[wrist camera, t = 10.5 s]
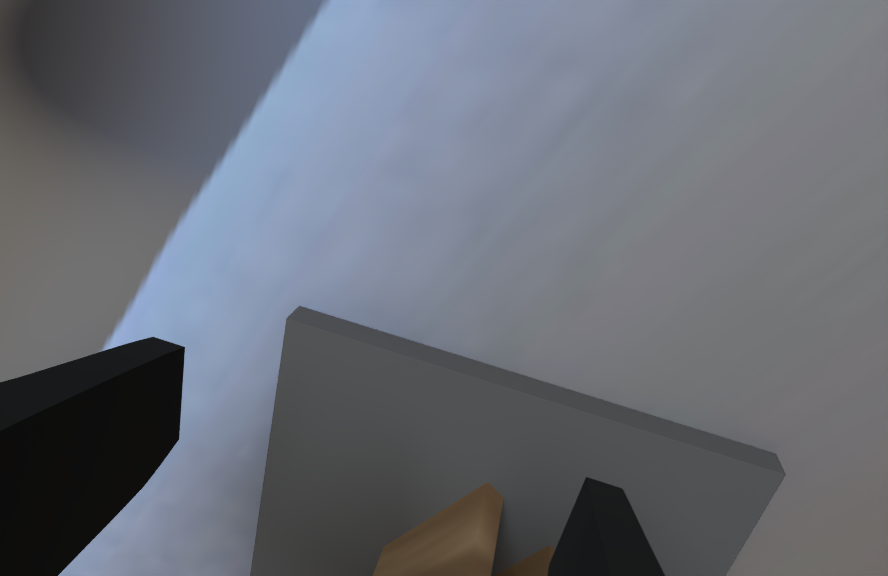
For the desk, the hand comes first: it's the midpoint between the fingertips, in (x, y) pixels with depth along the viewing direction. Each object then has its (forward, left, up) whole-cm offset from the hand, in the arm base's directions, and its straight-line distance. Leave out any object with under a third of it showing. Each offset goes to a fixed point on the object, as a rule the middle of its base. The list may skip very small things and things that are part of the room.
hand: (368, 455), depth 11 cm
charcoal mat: (-3, +10, -9) cm, 14 cm away
